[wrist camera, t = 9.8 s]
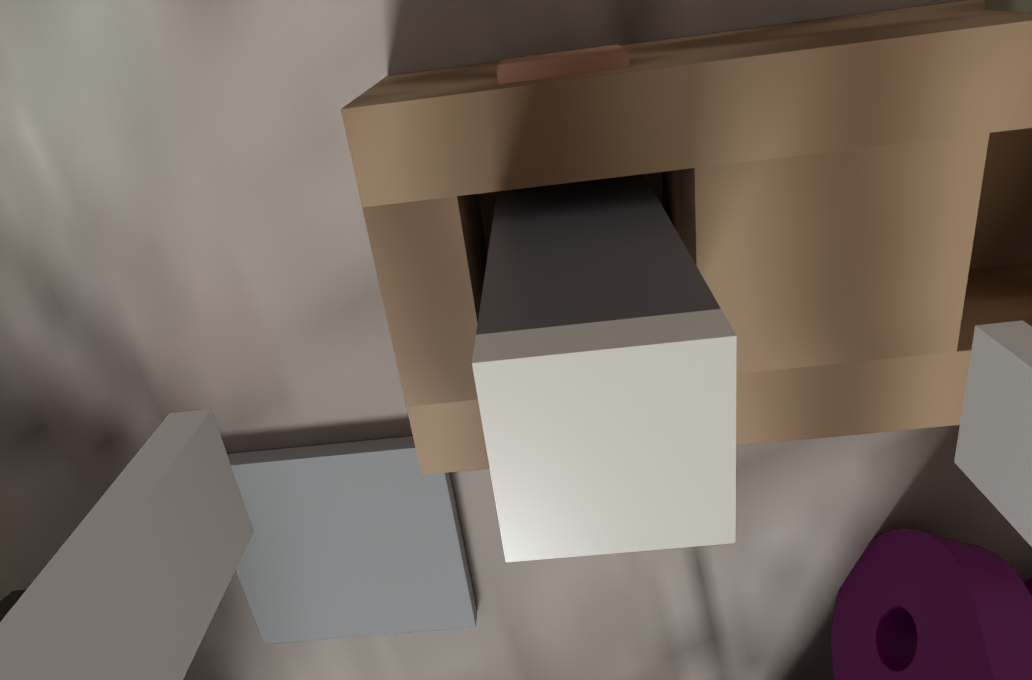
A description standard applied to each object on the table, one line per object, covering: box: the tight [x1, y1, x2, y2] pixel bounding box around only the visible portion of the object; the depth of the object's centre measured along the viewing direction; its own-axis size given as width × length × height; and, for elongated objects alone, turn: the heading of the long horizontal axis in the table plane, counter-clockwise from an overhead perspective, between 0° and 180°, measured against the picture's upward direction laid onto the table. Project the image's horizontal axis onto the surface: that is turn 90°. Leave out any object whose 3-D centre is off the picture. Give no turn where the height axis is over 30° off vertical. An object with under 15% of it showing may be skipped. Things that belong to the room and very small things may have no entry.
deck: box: [227, 436, 477, 644], centre depth 29 cm, size 9×9×1 cm
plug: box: [472, 174, 737, 562], centre depth 18 cm, size 4×4×12 cm
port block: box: [341, 0, 1032, 475], centre depth 21 cm, size 22×10×6 cm, turn 97°
